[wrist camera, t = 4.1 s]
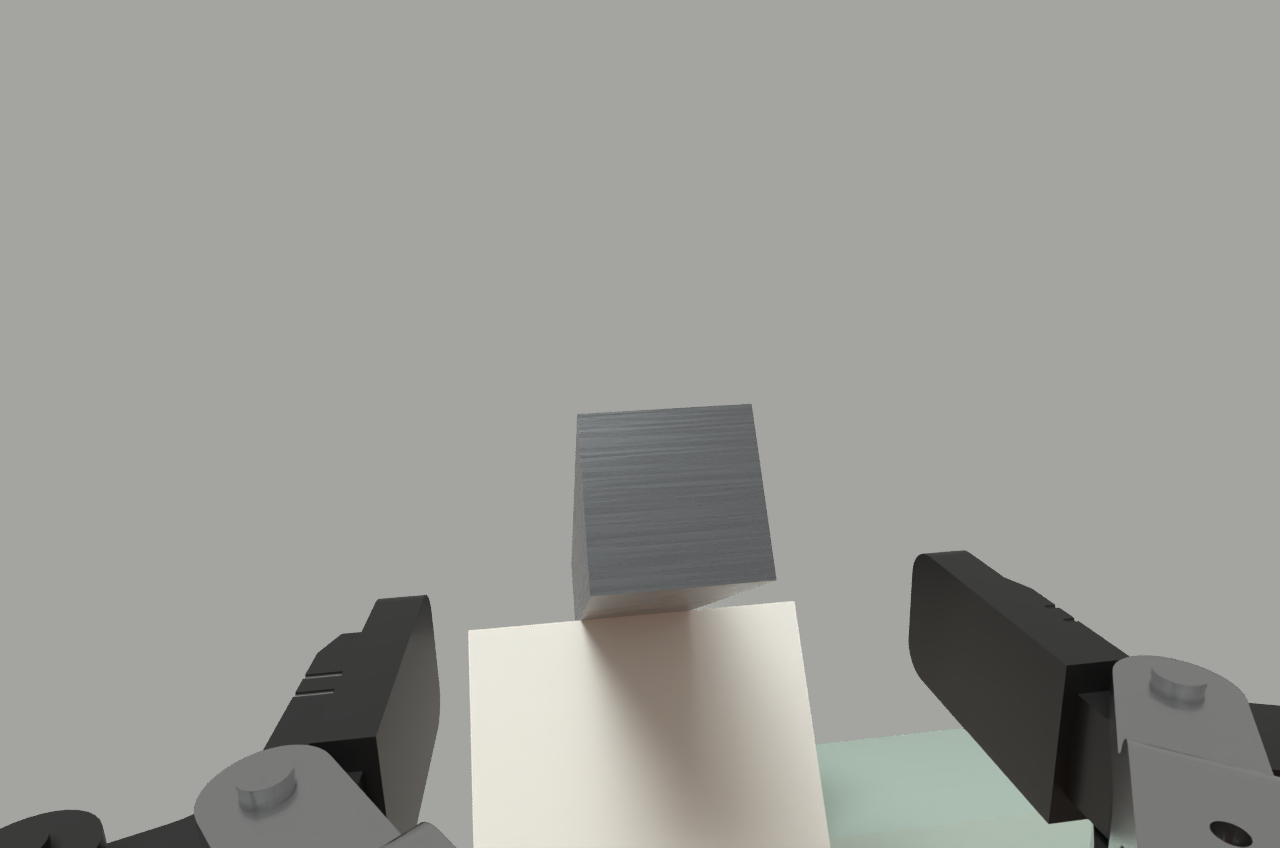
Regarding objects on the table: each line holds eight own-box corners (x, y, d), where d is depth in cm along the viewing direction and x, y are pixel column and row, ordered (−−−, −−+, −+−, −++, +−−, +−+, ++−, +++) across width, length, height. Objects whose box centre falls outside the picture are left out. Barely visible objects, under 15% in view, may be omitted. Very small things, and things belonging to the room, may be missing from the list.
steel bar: (776, 580, 12) (751, 404, 13) (590, 596, 12) (577, 414, 12) (643, 626, 33) (637, 558, 34) (575, 632, 33) (571, 563, 33)
